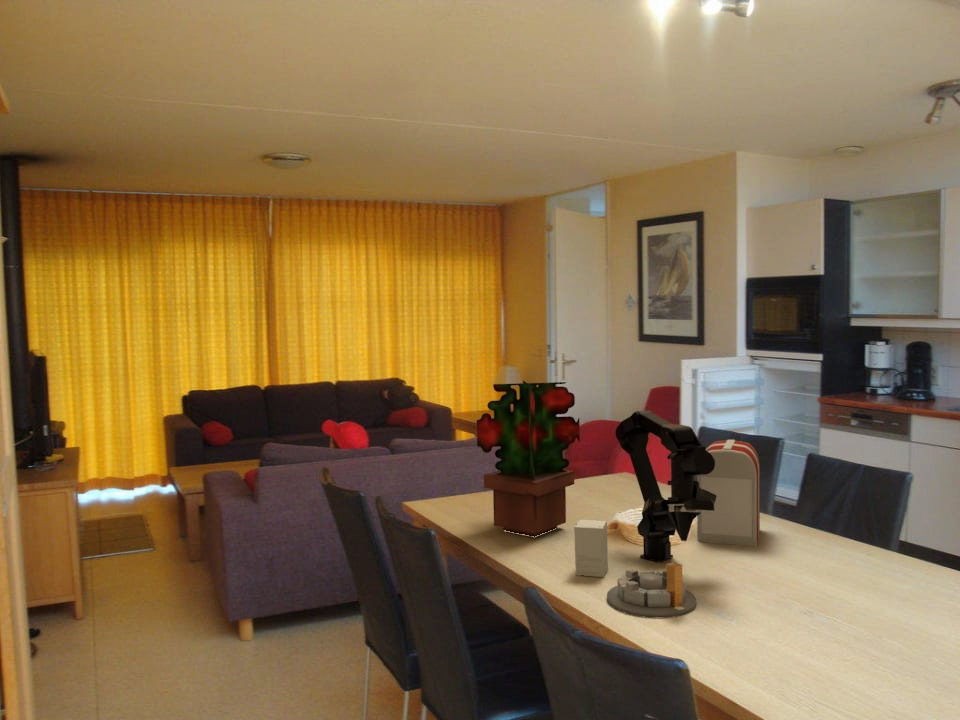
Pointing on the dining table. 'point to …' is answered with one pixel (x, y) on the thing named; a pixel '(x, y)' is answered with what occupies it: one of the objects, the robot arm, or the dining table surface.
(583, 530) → the supplement box
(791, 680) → the dining table surface
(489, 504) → the dining table surface
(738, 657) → the dining table surface
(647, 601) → the grey stone ring wall
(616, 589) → the grey stone circle model
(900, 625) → the dining table surface
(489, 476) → the potted plant
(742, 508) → the red-striped tombstone block
